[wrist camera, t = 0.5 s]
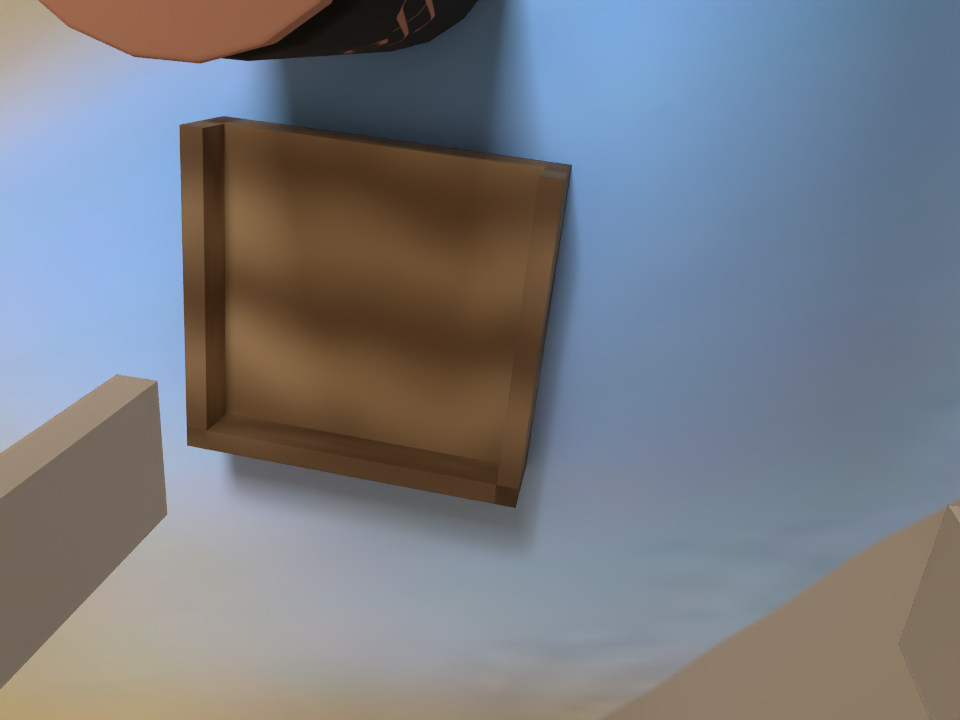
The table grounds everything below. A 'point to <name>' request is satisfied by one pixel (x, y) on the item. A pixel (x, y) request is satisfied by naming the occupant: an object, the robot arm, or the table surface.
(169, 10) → the coffee jar
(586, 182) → the table surface
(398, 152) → the brown shallow square tray
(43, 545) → the robot arm
